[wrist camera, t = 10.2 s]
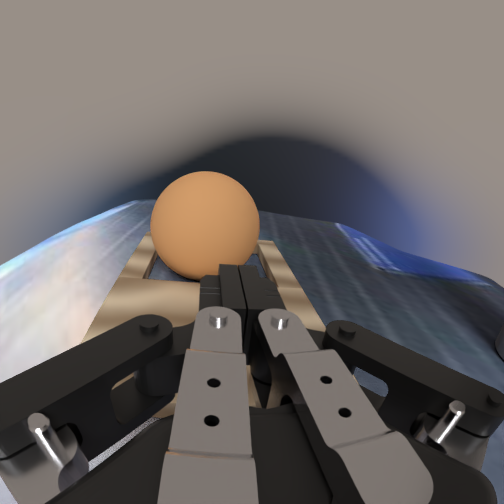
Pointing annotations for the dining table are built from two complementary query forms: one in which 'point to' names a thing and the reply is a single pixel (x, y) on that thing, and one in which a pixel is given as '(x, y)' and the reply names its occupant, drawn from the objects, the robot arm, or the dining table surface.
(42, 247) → the dining table surface
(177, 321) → the board
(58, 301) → the dining table surface
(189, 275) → the ball
